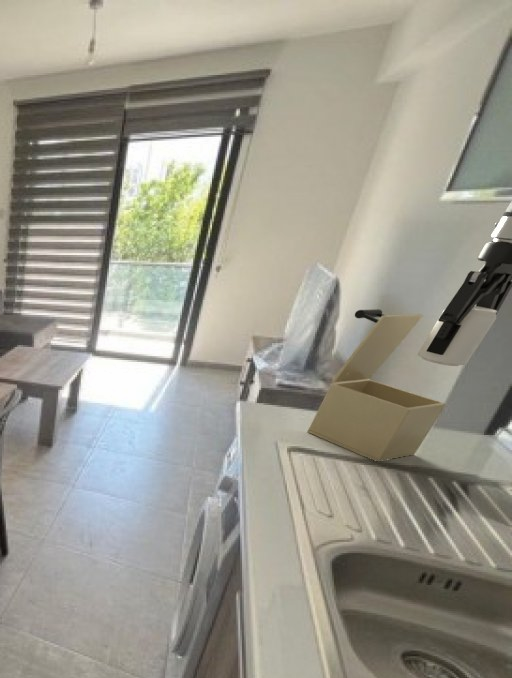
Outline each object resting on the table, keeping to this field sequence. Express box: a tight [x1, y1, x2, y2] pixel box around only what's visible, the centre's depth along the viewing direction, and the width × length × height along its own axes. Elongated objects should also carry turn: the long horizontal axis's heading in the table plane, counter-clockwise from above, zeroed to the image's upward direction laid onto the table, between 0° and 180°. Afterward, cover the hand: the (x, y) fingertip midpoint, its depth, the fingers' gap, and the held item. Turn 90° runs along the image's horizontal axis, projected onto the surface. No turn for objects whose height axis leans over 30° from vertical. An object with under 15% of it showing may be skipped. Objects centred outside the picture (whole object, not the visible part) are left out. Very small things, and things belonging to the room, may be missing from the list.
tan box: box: [307, 378, 448, 462], centre depth 120 cm, size 17×15×14 cm
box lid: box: [330, 308, 424, 383], centre depth 120 cm, size 18×15×8 cm
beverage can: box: [417, 305, 498, 367], centre depth 105 cm, size 8×8×12 cm
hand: (446, 351), depth 107 cm, fingers closed on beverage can, 8 cm apart
